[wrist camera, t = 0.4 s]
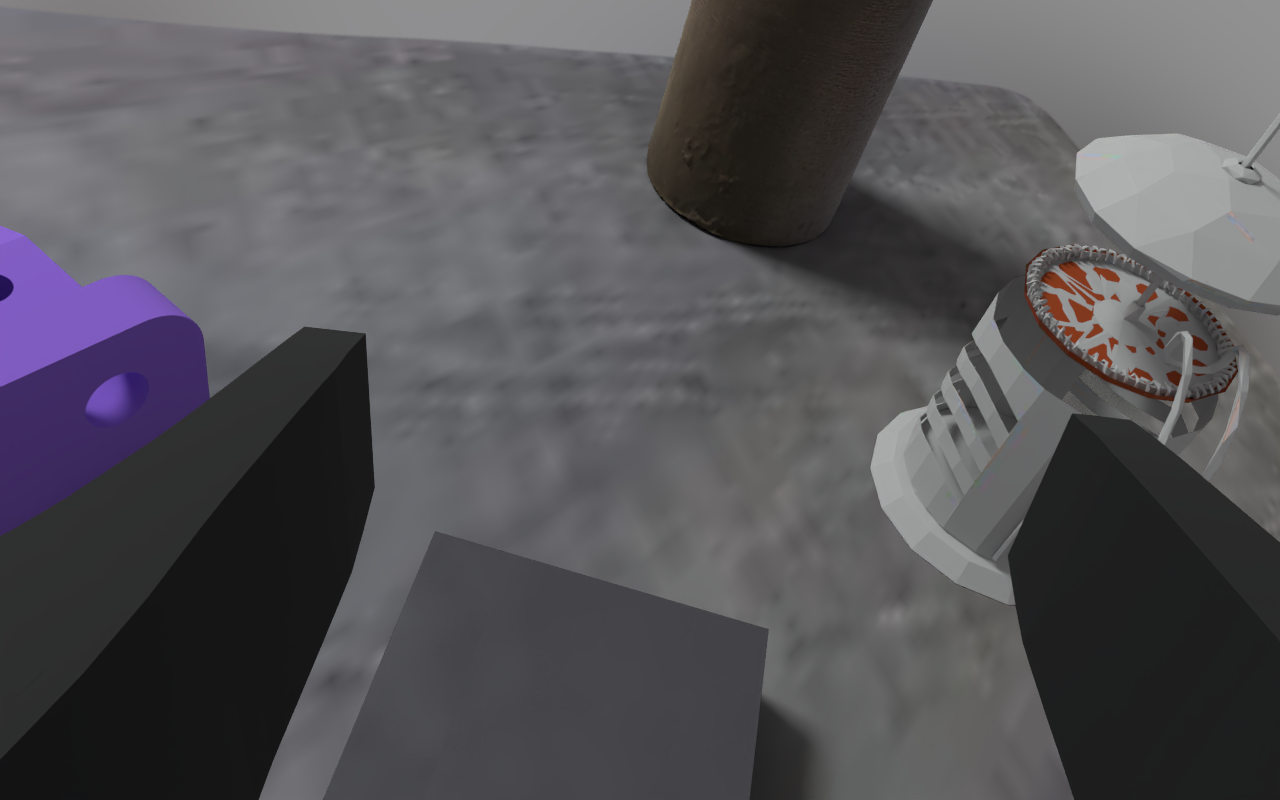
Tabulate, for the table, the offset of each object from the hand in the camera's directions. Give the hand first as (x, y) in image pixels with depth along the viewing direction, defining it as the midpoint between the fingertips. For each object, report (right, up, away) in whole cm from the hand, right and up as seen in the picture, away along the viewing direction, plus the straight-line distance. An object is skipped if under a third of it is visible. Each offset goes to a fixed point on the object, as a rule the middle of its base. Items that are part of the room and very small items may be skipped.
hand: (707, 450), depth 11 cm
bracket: (-21, 0, +23) cm, 31 cm away
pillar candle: (+4, +11, +40) cm, 42 cm away
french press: (+13, -4, +29) cm, 32 cm away
